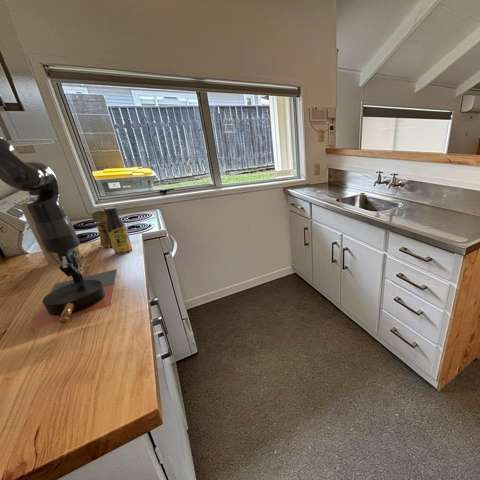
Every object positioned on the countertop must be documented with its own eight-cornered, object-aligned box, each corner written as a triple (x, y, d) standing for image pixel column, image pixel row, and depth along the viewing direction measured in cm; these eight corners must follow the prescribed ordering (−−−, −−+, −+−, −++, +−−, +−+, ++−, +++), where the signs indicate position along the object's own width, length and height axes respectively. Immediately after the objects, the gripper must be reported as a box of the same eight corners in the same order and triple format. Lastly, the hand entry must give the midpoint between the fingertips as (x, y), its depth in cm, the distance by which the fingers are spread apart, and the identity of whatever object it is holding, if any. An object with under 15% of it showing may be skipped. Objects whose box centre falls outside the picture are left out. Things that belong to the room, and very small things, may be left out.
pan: (31, 341, 61) (23, 329, 60) (54, 298, 78) (49, 288, 76) (99, 320, 68) (94, 309, 66) (108, 284, 84) (104, 275, 83)
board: (29, 332, 65) (28, 329, 65) (56, 285, 86) (55, 283, 86) (111, 307, 74) (110, 305, 74) (118, 270, 95) (117, 268, 95)
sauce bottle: (122, 257, 106) (105, 210, 98) (112, 255, 108) (94, 209, 100) (137, 250, 112) (122, 206, 104) (127, 249, 113) (111, 205, 106)
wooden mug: (99, 253, 111) (83, 213, 104) (102, 243, 121) (87, 206, 114) (124, 247, 115) (111, 209, 108) (124, 239, 126) (112, 203, 119)
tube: (58, 268, 98) (27, 205, 89) (43, 265, 102) (12, 203, 92) (87, 257, 107) (62, 198, 97) (73, 254, 110) (47, 197, 101)
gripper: (46, 229, 78) (69, 278, 85) (32, 243, 68) (60, 298, 75) (78, 224, 82) (98, 271, 89) (69, 237, 72) (93, 289, 78)
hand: (81, 283), depth 82 cm, fingers closed
